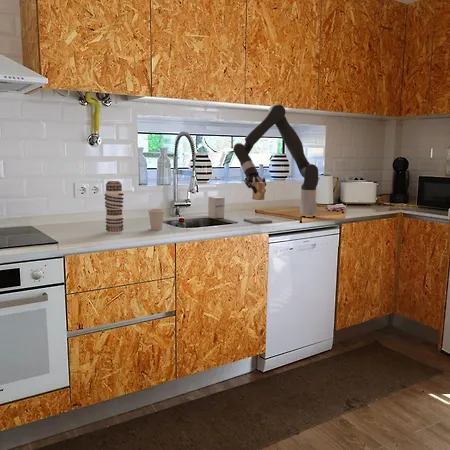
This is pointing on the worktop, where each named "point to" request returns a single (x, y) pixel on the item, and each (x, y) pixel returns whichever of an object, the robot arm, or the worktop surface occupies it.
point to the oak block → (259, 191)
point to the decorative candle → (114, 207)
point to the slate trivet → (258, 220)
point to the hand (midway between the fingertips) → (260, 192)
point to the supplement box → (216, 207)
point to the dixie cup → (156, 218)
